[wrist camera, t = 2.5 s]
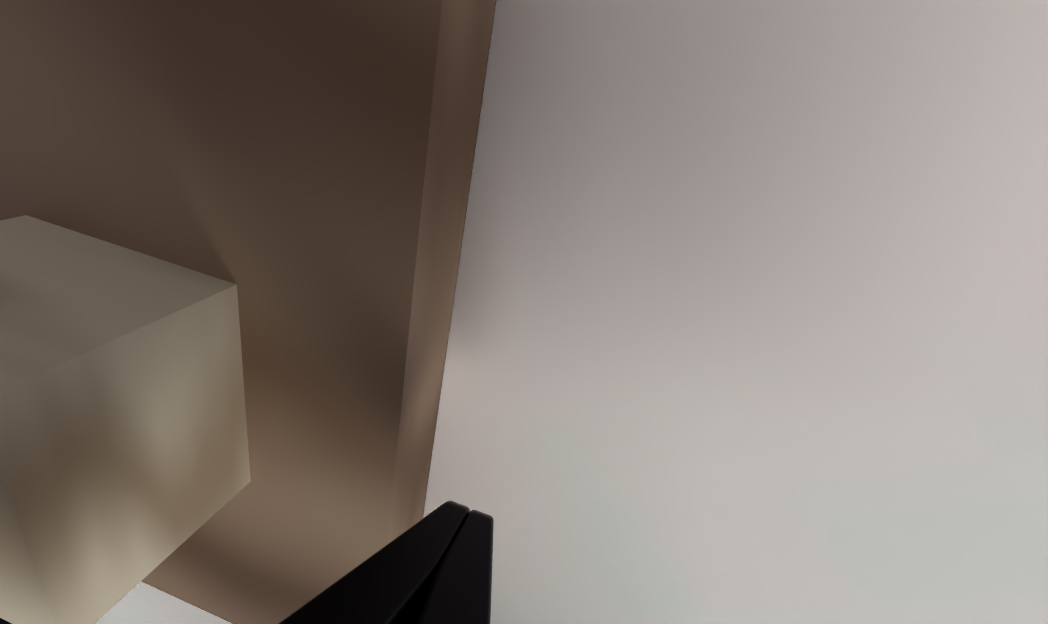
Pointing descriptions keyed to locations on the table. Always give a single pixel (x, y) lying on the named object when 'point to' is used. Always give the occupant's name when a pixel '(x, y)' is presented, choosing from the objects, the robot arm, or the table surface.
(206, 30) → the trap deck
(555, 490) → the table surface
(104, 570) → the birch block
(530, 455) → the table surface
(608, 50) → the table surface
